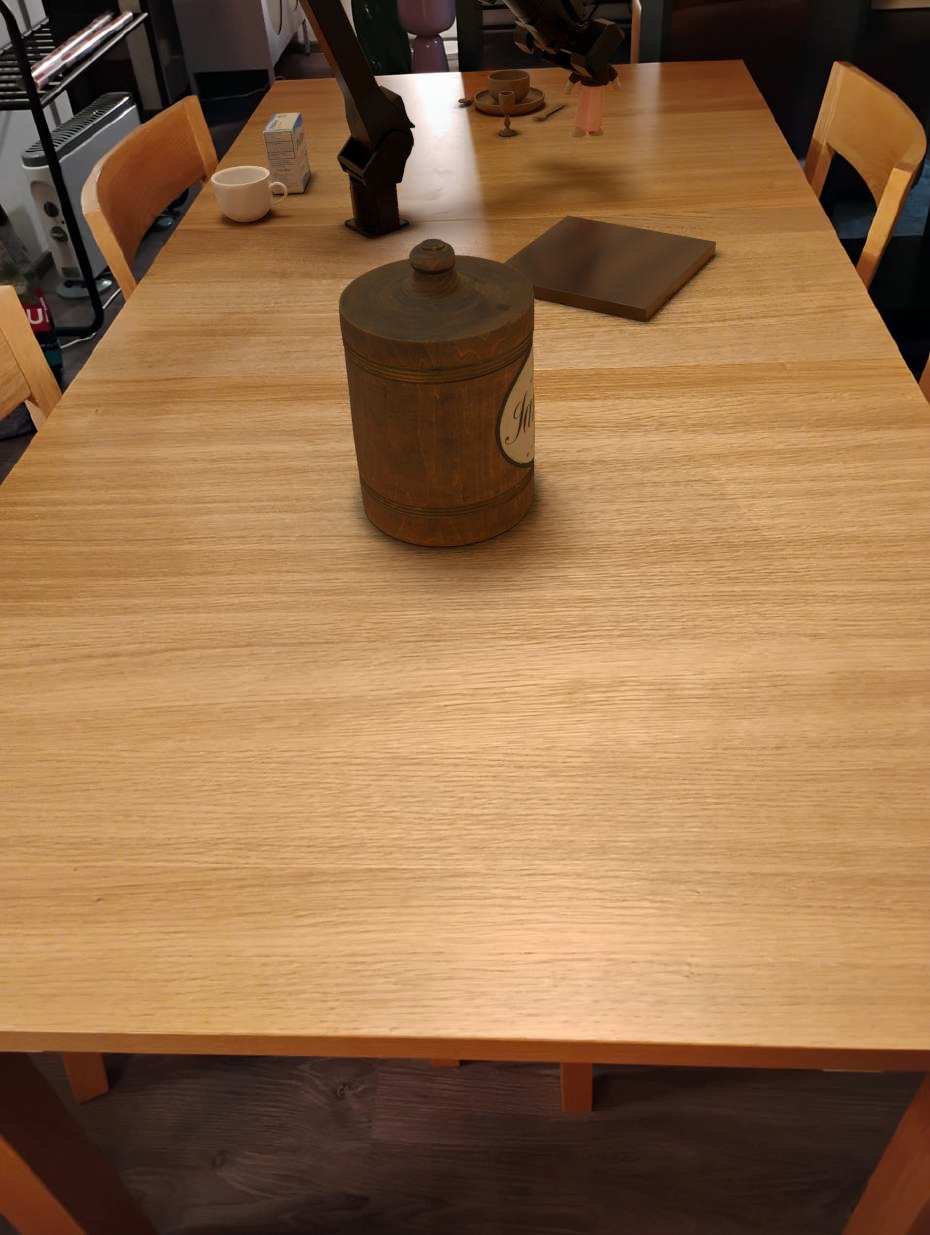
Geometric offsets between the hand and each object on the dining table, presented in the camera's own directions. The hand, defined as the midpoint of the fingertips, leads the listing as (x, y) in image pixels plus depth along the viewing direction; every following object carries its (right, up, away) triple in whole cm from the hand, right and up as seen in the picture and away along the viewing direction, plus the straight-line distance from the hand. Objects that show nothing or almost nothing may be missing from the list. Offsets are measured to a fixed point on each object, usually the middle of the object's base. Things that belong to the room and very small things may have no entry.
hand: (601, 80), depth 135 cm
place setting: (-13, +11, +31) cm, 35 cm away
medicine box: (-44, -10, +10) cm, 46 cm away
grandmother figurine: (-1, -6, +4) cm, 7 cm away
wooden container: (-20, -62, -49) cm, 82 cm away
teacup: (-47, -18, +2) cm, 50 cm away
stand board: (-2, -32, -17) cm, 36 cm away
